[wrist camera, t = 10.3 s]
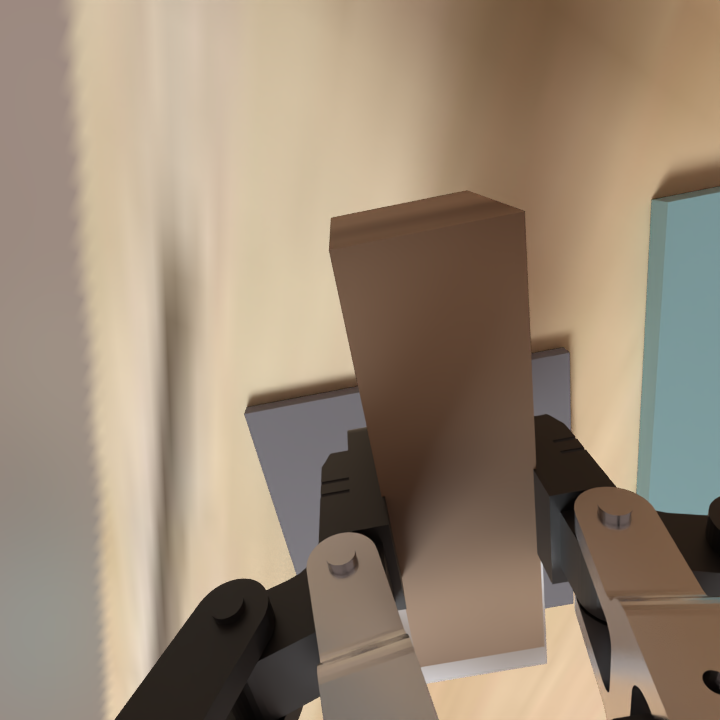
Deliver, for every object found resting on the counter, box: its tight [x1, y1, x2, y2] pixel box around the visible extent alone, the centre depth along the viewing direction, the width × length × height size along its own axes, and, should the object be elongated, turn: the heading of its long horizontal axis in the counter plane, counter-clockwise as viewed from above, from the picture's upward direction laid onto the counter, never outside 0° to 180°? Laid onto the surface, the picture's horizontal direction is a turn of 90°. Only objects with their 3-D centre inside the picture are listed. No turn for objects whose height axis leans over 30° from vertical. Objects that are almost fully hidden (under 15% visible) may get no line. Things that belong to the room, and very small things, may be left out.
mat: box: [244, 347, 573, 608], centre depth 24 cm, size 15×14×1 cm
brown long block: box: [329, 191, 547, 684], centre depth 12 cm, size 15×5×4 cm, turn 11°
